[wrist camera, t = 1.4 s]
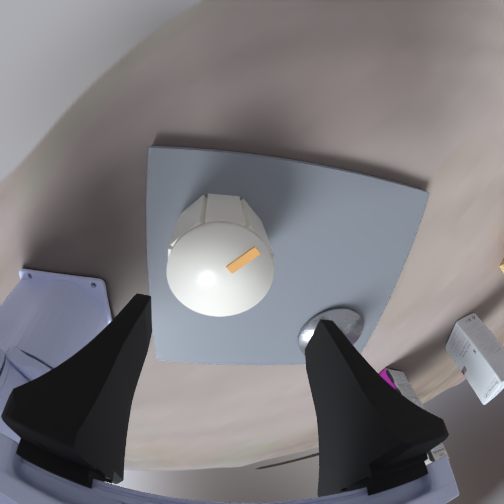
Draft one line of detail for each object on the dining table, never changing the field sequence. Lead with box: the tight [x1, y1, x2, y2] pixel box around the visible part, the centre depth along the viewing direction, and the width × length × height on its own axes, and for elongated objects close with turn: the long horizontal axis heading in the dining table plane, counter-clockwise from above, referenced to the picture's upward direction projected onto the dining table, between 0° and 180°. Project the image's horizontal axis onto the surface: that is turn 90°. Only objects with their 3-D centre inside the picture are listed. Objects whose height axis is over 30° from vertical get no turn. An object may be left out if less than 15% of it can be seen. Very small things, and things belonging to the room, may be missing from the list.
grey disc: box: [297, 307, 363, 355], centre depth 23 cm, size 6×6×4 cm
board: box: [146, 146, 429, 365], centre depth 22 cm, size 21×19×1 cm
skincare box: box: [446, 313, 504, 405], centre depth 26 cm, size 6×4×12 cm
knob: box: [166, 193, 275, 317], centre depth 17 cm, size 6×6×5 cm
